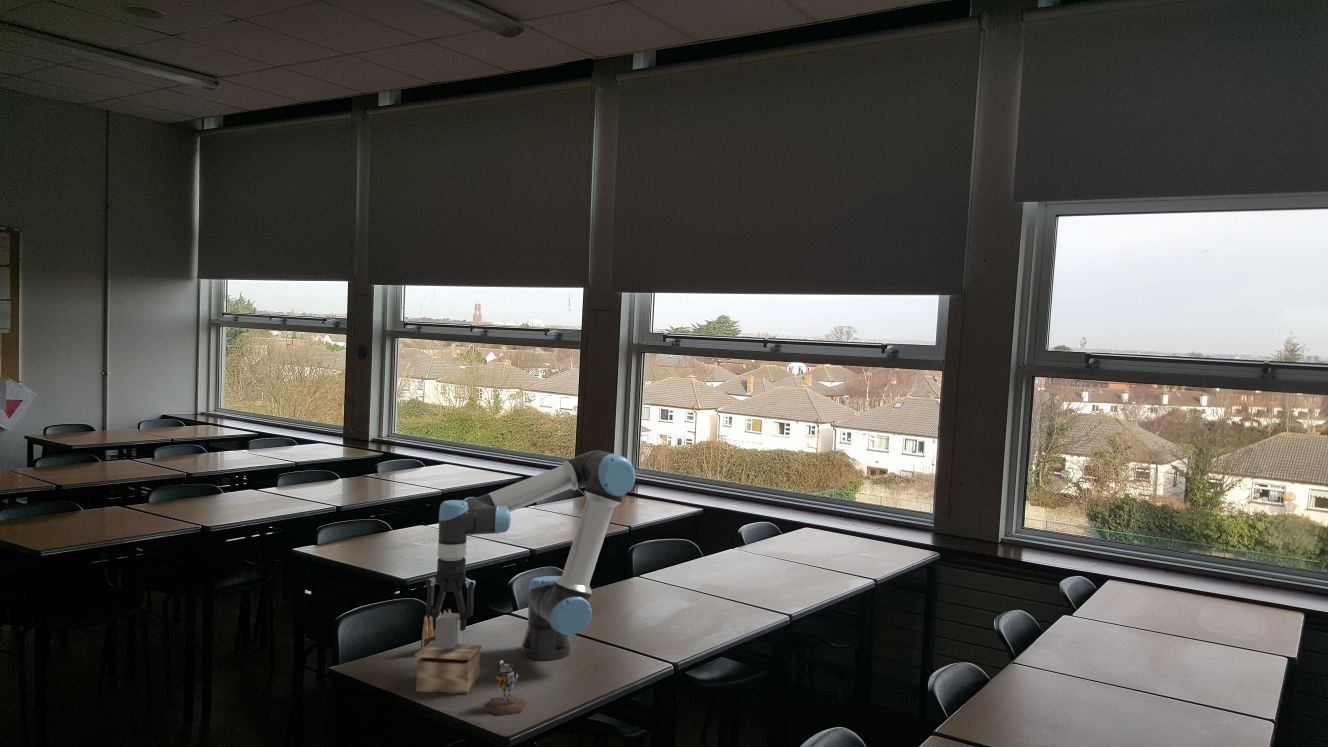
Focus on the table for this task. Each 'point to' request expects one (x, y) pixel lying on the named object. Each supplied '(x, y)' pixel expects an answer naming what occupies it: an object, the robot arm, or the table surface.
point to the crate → (447, 674)
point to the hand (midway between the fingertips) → (448, 641)
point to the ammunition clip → (429, 631)
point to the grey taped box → (446, 630)
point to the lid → (449, 652)
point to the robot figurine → (509, 702)
